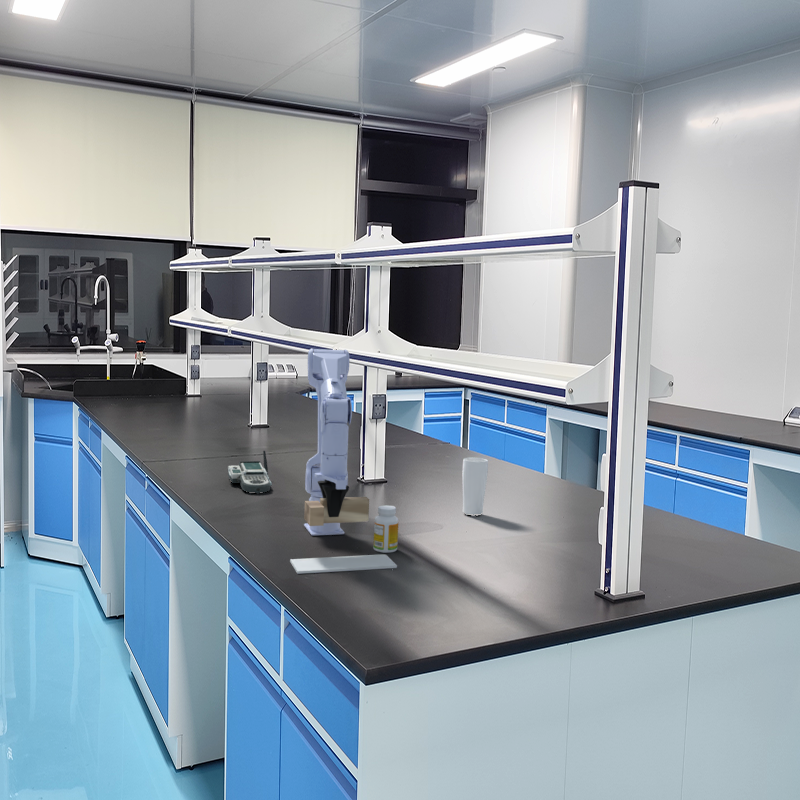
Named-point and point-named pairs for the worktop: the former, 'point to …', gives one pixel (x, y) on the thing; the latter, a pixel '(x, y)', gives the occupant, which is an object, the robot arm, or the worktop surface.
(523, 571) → the worktop surface
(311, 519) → the tan boxy piece
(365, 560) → the grey mat
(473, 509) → the drinking glass
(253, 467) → the communication device
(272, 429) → the worktop surface
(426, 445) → the worktop surface
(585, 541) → the worktop surface
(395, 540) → the supplement bottle
